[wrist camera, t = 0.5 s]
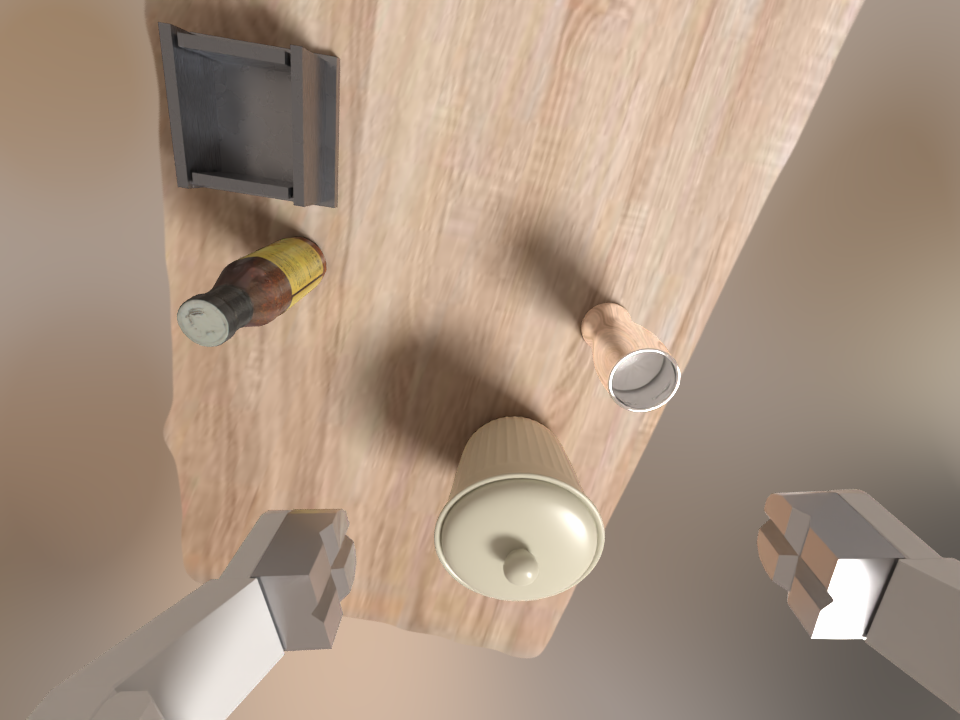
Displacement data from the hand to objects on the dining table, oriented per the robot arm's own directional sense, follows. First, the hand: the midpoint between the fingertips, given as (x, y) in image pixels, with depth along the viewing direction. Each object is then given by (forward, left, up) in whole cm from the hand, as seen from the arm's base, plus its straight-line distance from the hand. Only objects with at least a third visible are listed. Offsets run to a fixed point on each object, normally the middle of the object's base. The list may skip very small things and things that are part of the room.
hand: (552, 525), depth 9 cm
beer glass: (+10, +15, -45) cm, 48 cm away
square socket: (-6, -25, -45) cm, 52 cm away
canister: (+30, +7, -45) cm, 55 cm away
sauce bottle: (+8, -22, -45) cm, 51 cm away
